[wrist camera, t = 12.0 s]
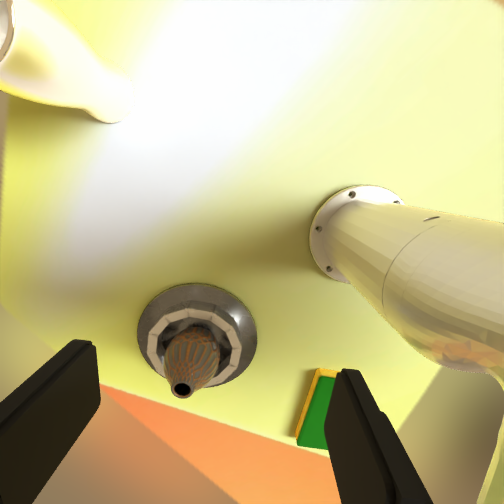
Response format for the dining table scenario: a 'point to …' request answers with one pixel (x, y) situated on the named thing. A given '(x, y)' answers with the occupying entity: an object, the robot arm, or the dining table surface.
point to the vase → (191, 361)
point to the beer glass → (58, 63)
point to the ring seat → (199, 315)
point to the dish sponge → (316, 411)
